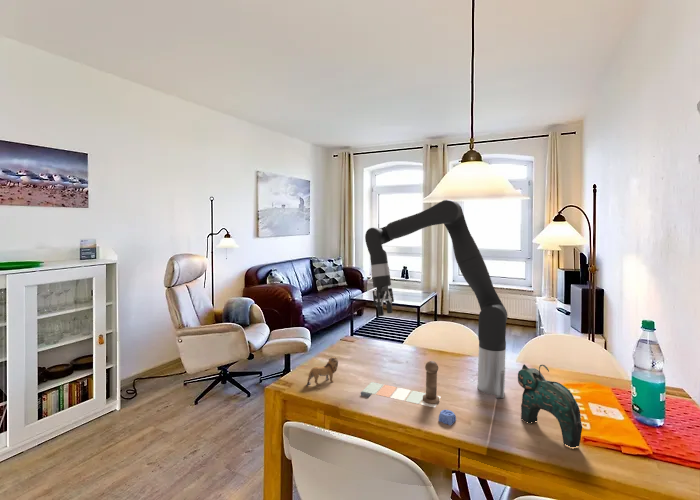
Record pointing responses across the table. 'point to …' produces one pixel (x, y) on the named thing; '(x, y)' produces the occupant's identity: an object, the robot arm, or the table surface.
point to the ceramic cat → (550, 403)
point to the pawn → (431, 383)
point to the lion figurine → (324, 371)
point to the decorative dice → (447, 417)
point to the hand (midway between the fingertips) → (385, 314)
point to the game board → (395, 393)
